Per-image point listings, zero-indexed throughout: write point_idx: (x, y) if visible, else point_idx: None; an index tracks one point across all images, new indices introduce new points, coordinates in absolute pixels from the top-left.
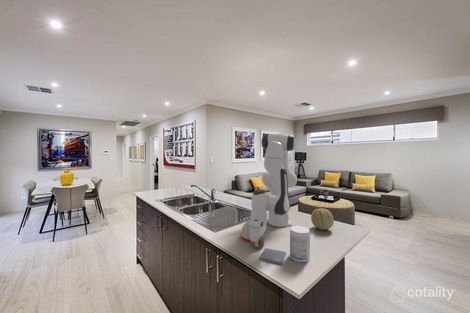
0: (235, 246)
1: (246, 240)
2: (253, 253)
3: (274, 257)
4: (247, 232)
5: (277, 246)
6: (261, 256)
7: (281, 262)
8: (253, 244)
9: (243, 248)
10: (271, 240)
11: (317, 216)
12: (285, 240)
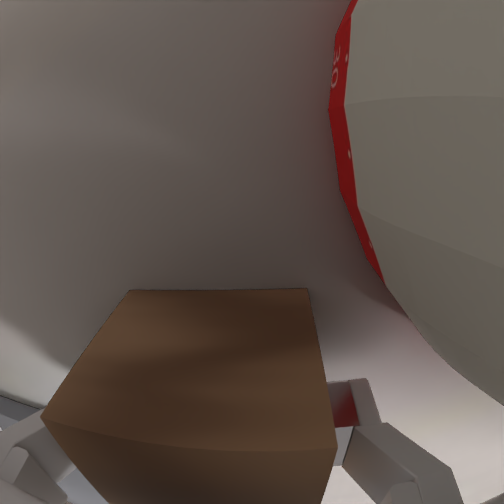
0: (29, 8)
1: (338, 51)
2: (16, 336)
3: (75, 488)
4: (499, 4)
5: (331, 488)
6: (6, 421)
7: (67, 499)
8: (109, 332)
9: (20, 155)
10: (471, 415)
11: None
12: (466, 474)
